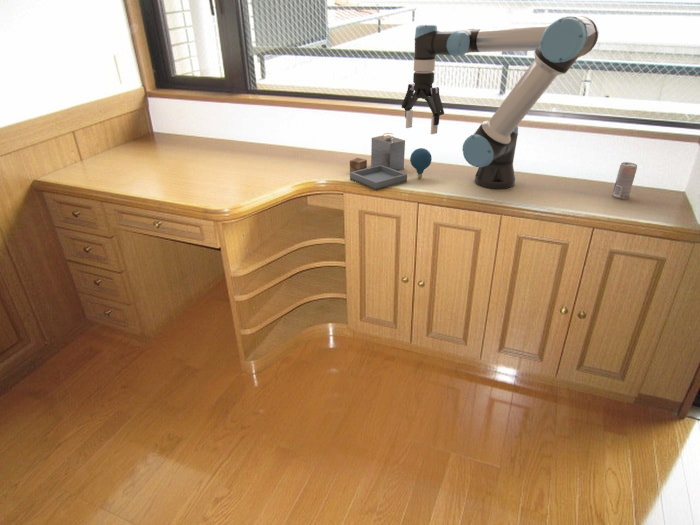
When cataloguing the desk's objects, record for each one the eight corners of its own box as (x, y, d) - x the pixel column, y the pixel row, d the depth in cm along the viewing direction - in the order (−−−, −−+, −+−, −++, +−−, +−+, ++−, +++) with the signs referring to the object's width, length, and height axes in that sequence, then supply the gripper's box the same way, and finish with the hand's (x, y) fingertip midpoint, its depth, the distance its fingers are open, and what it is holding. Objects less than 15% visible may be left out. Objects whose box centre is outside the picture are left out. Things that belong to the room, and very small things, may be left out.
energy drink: (623, 193, 179) (632, 162, 174) (631, 199, 175) (640, 166, 169) (609, 194, 179) (617, 162, 173) (616, 199, 174) (625, 166, 169)
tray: (406, 181, 193) (407, 174, 191) (375, 190, 184) (376, 182, 183) (380, 171, 204) (380, 164, 202) (350, 179, 195) (349, 172, 194)
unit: (403, 168, 207) (405, 135, 201) (389, 172, 203) (390, 138, 196) (384, 162, 216) (385, 130, 209) (370, 165, 212) (371, 132, 205)
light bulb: (429, 175, 200) (431, 145, 194) (430, 181, 192) (432, 151, 187) (409, 174, 200) (410, 145, 195) (409, 181, 193) (410, 151, 187)
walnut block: (366, 171, 205) (366, 159, 202) (359, 174, 201) (359, 162, 199) (357, 169, 207) (357, 157, 205) (349, 172, 204) (349, 160, 201)
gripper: (456, 73, 171) (452, 134, 181) (407, 68, 189) (406, 123, 199) (442, 75, 167) (437, 138, 177) (393, 69, 185) (392, 126, 195)
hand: (421, 130), depth 188 cm, fingers open, 13 cm apart
